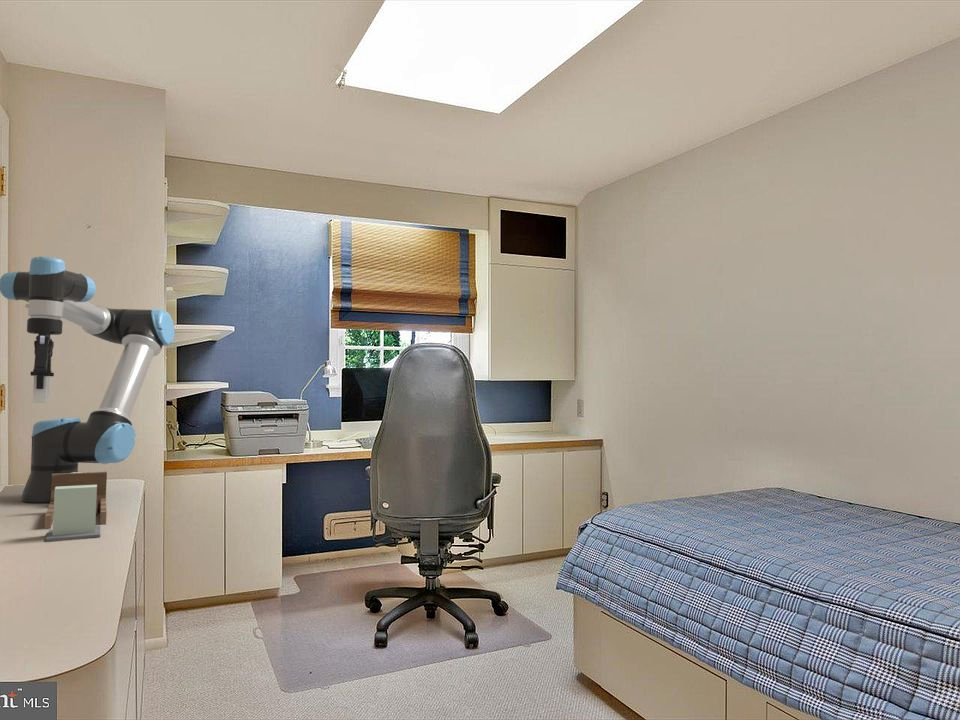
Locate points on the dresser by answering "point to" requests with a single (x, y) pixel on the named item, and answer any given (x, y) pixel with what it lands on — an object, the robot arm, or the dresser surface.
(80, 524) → the block
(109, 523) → the dresser surface
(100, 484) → the rack
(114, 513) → the dresser surface
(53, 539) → the rubber pad
